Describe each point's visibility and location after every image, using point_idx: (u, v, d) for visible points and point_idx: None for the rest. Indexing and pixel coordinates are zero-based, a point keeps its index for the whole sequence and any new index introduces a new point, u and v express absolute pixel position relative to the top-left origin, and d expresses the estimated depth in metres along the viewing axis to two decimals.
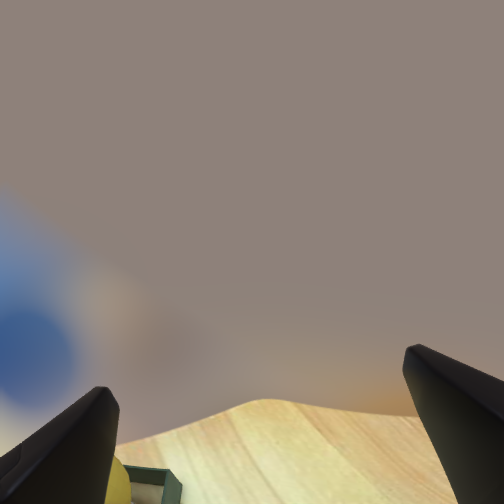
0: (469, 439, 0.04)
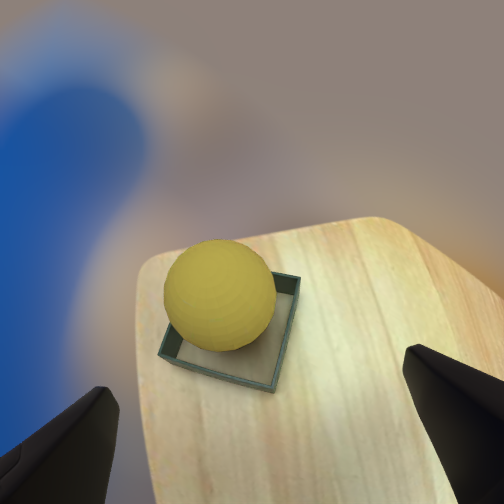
0: (469, 439, 0.04)
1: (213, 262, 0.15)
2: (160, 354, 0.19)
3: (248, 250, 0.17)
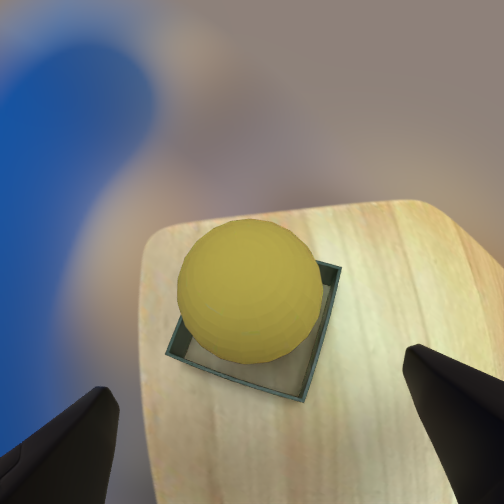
0: (469, 439, 0.04)
1: (250, 255, 0.11)
2: (168, 353, 0.16)
3: (293, 237, 0.12)
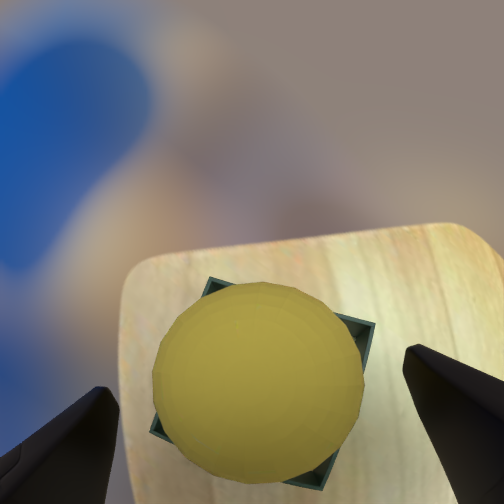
0: (469, 439, 0.04)
1: (262, 369, 0.06)
2: (153, 432, 0.11)
3: (329, 320, 0.08)
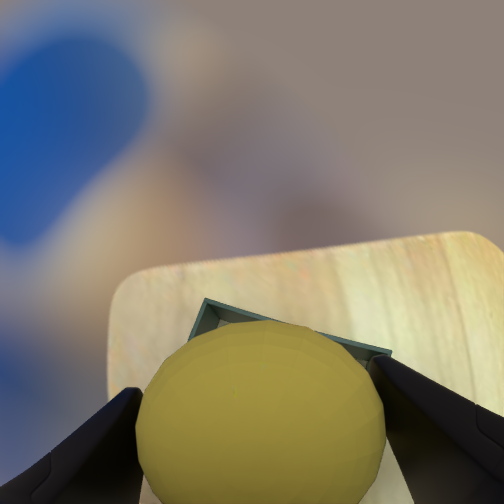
0: (428, 459, 0.04)
1: (269, 452, 0.04)
2: None
3: (351, 374, 0.06)
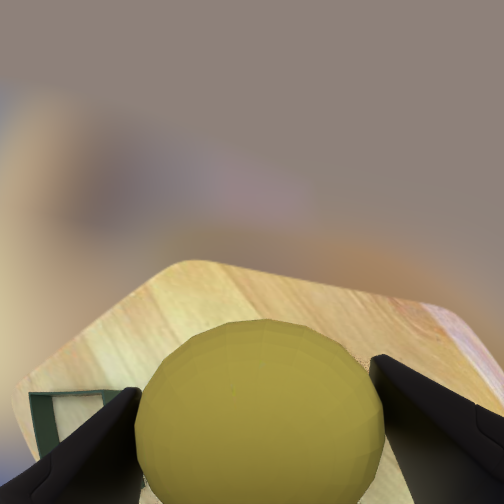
0: (428, 459, 0.04)
1: (268, 450, 0.04)
2: None
3: (350, 373, 0.06)
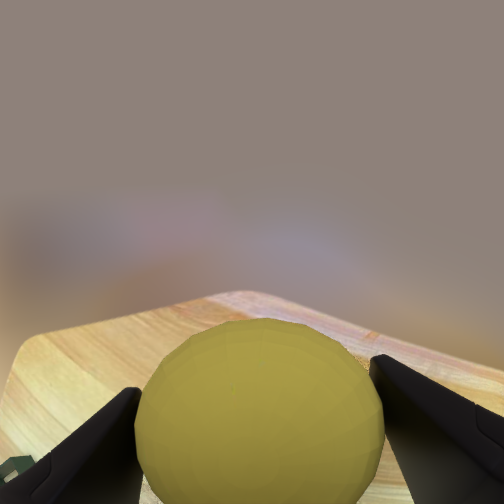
0: (428, 459, 0.04)
1: (267, 449, 0.04)
2: None
3: (349, 372, 0.06)
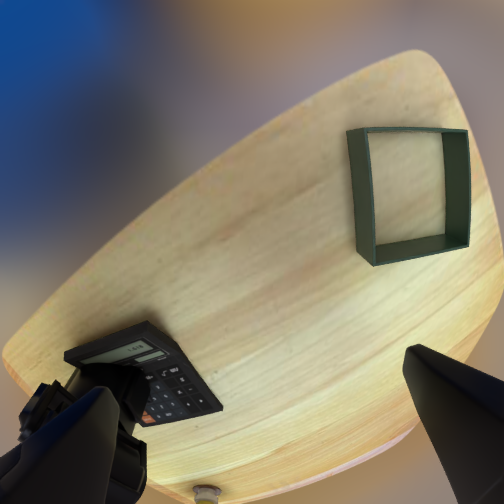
0: (469, 439, 0.04)
1: None
2: (366, 131, 0.15)
3: None
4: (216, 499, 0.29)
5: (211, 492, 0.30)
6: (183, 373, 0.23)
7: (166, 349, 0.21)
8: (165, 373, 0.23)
